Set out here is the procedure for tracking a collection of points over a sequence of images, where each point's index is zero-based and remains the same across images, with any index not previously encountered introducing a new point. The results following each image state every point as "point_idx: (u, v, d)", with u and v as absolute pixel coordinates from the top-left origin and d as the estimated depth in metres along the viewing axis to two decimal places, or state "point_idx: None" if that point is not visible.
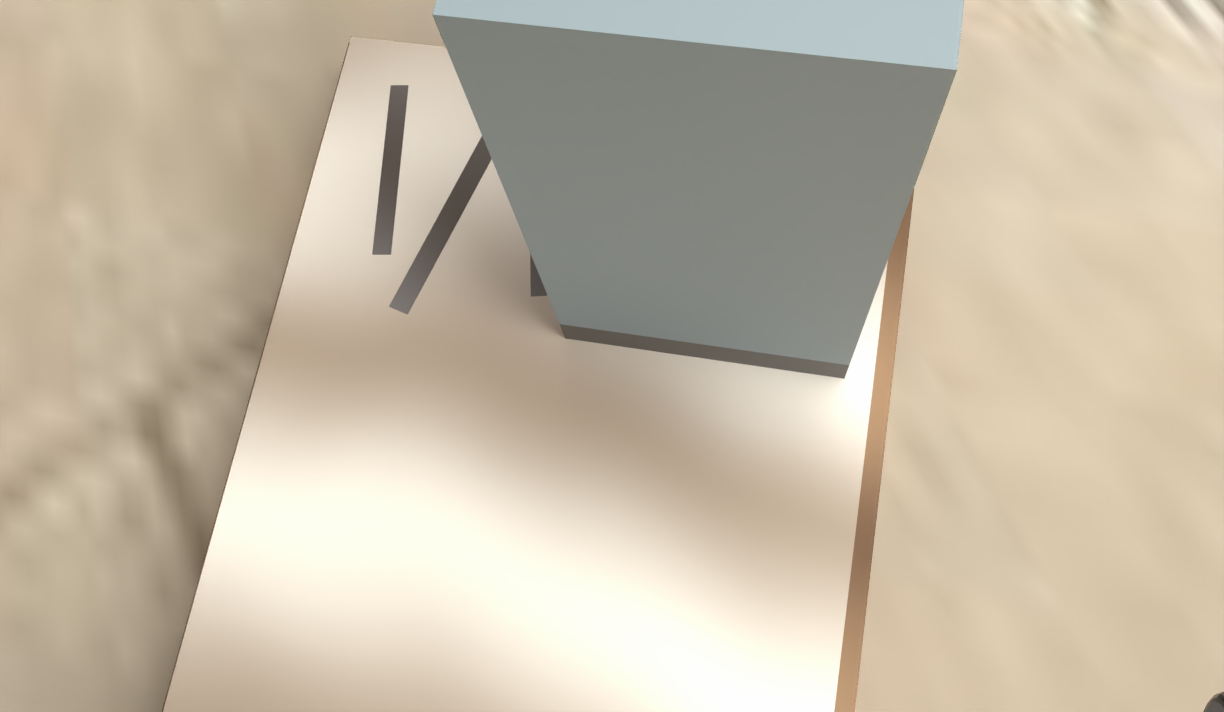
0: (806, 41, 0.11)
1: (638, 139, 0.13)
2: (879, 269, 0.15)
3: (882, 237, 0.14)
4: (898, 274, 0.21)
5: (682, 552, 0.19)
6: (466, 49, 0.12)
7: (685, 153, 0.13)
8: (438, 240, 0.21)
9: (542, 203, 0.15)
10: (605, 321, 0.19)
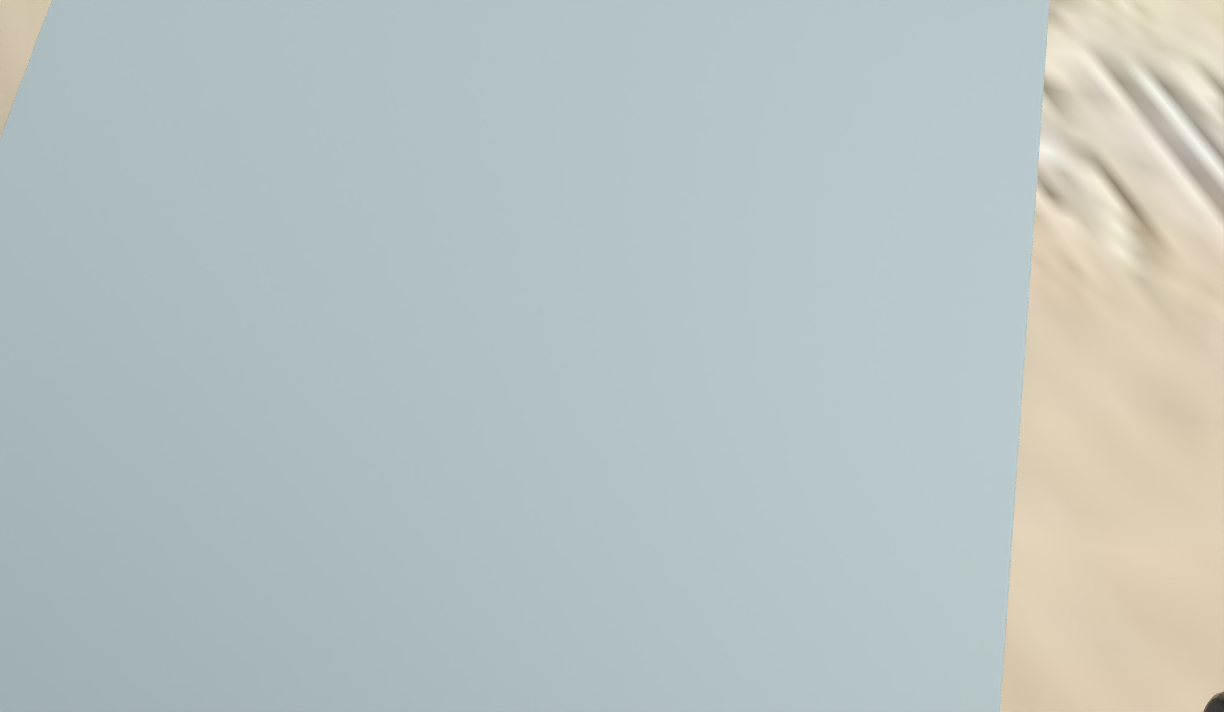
0: None
1: None
2: None
3: None
4: None
5: None
6: None
7: None
8: None
9: None
10: None
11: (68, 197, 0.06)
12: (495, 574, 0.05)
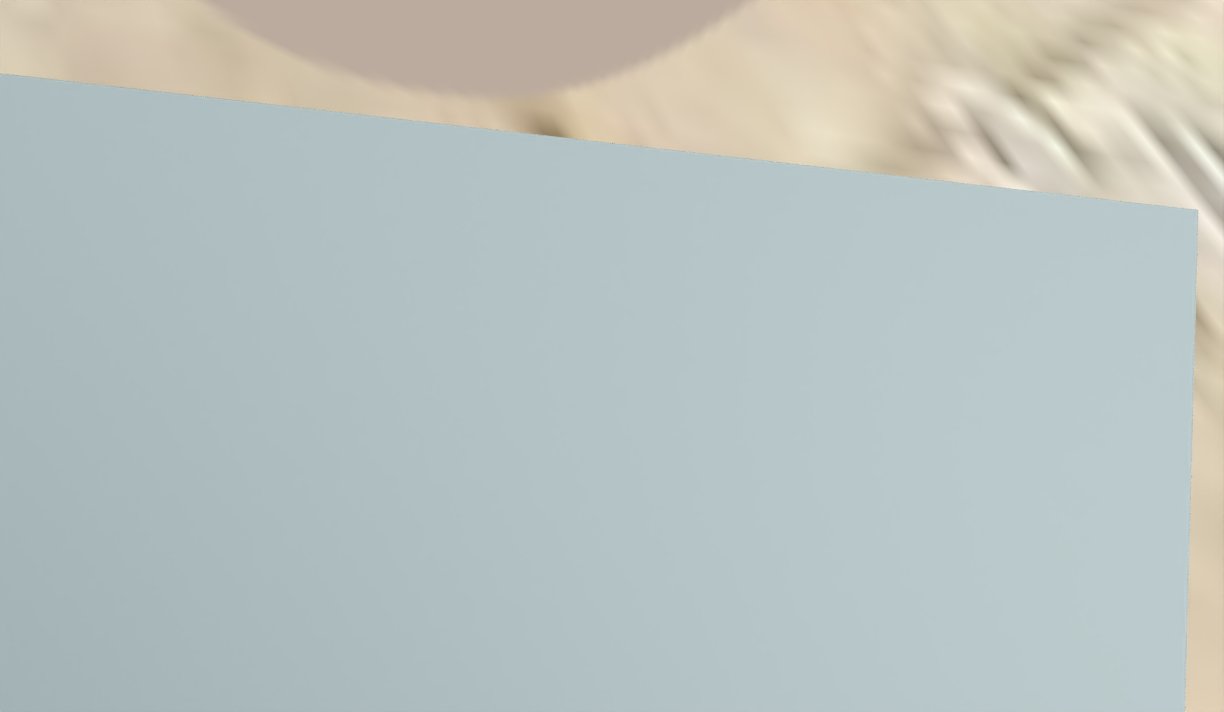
0: None
1: None
2: None
3: None
4: None
5: None
6: None
7: None
8: None
9: None
10: None
11: None
12: None
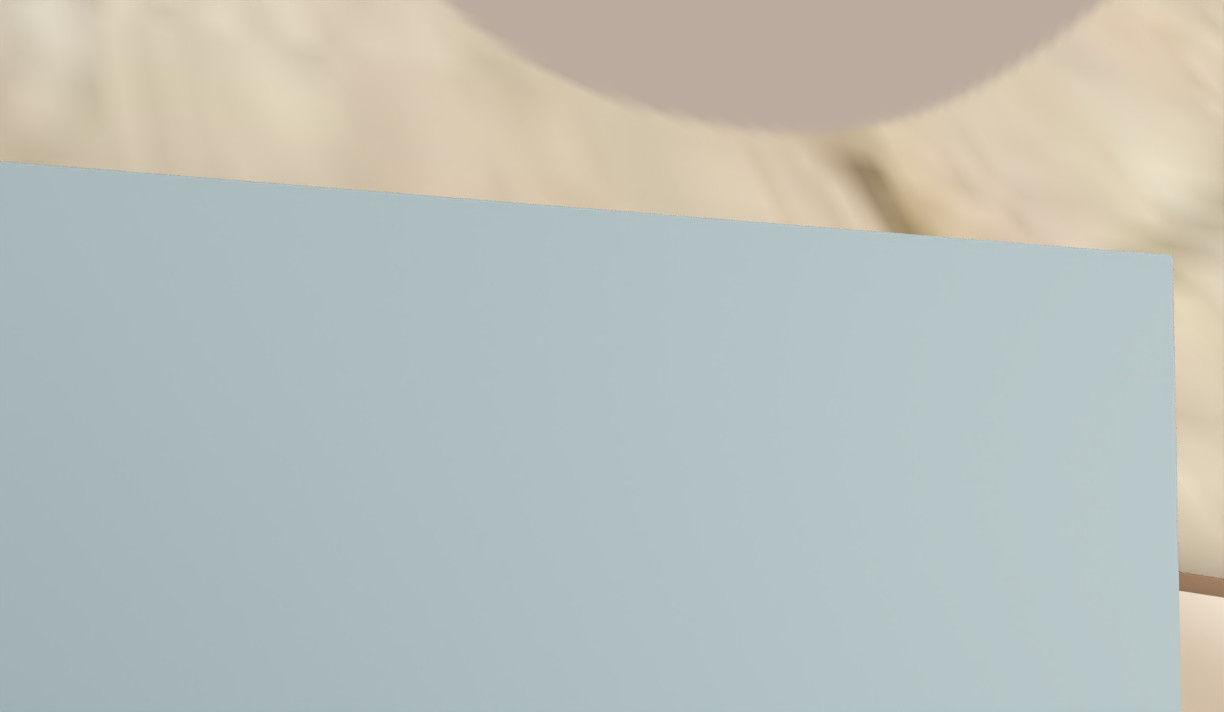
0: None
1: None
2: None
3: None
4: None
5: None
6: None
7: None
8: None
9: None
10: None
11: None
12: None
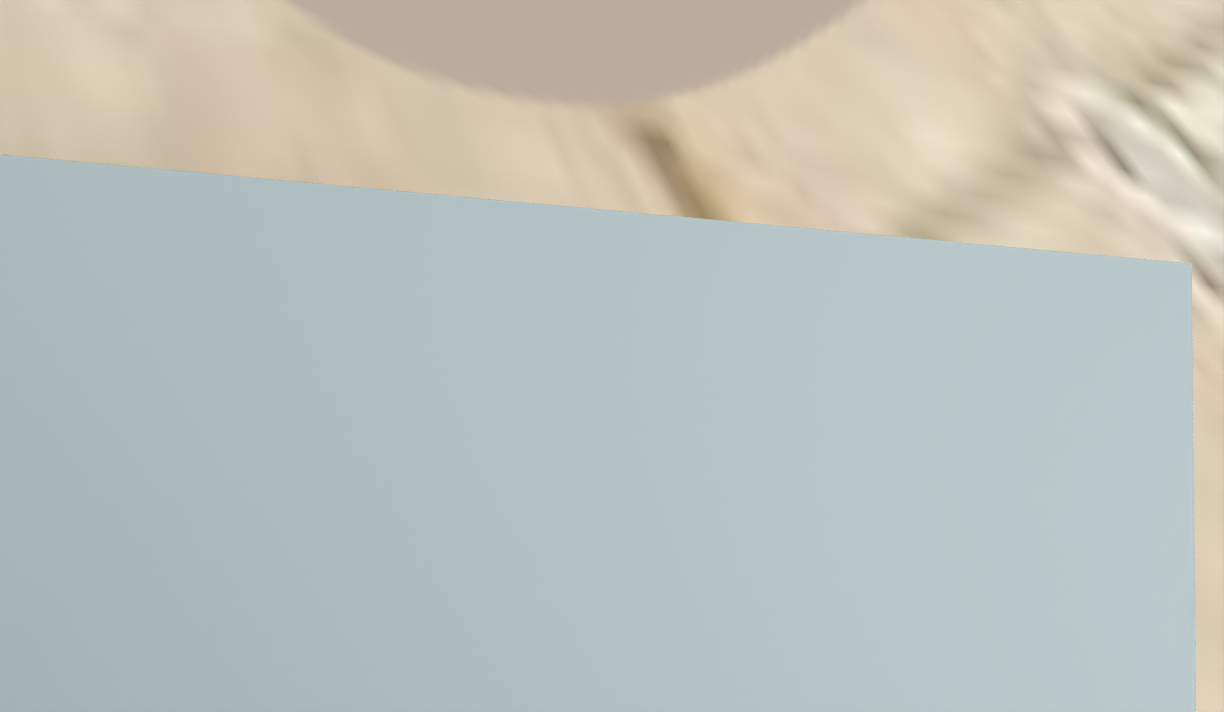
0: None
1: None
2: None
3: None
4: None
5: None
6: None
7: None
8: None
9: None
10: None
11: None
12: None
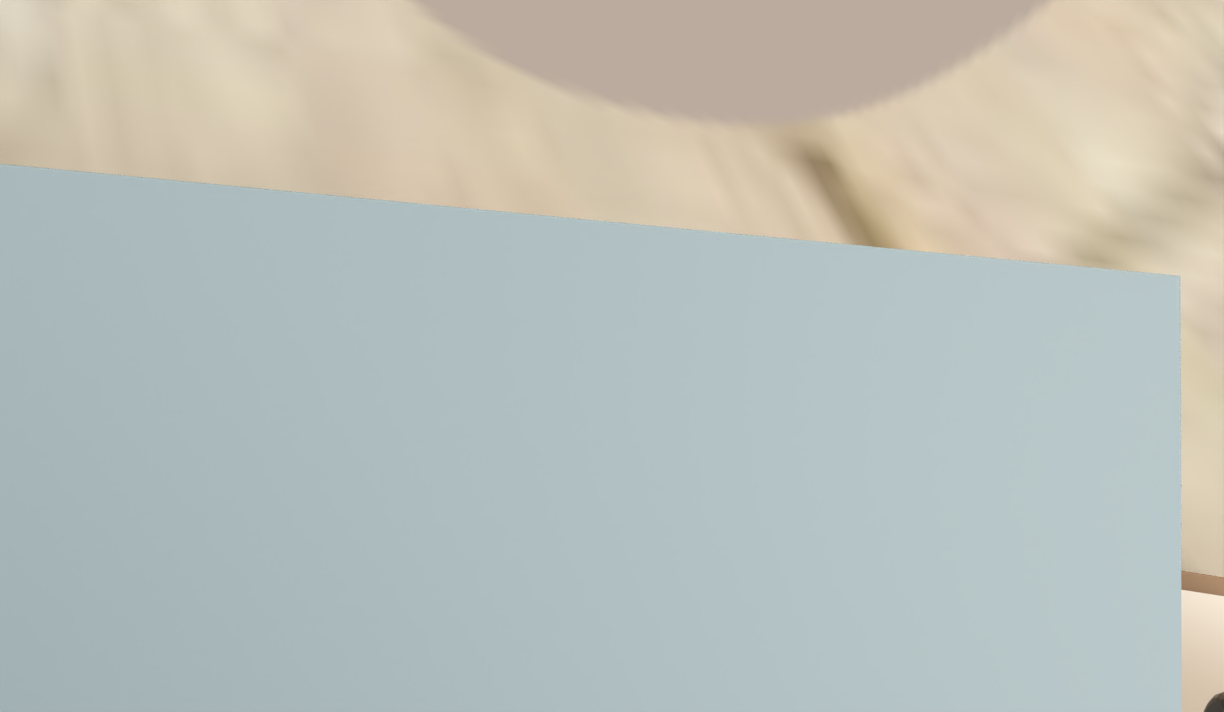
0: None
1: None
2: None
3: None
4: None
5: None
6: None
7: None
8: None
9: None
10: None
11: None
12: None
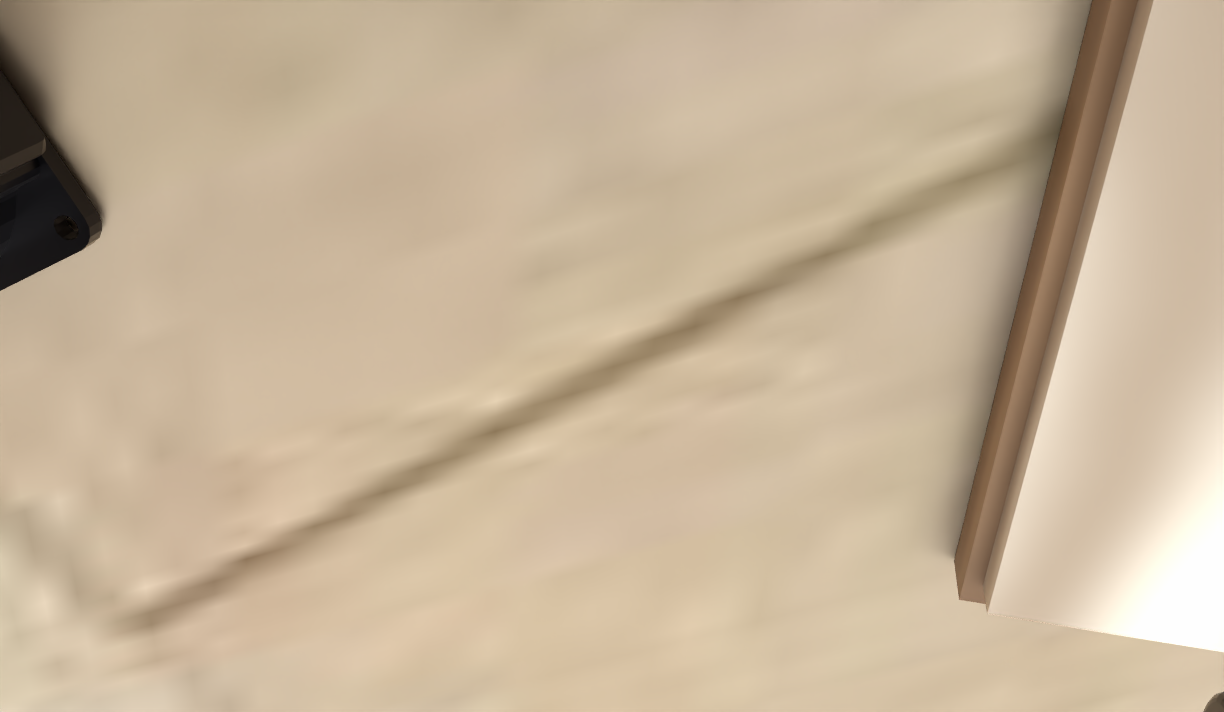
0: None
1: None
2: None
3: None
4: None
5: None
6: None
7: None
8: None
9: None
10: None
11: None
12: None
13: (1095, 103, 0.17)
